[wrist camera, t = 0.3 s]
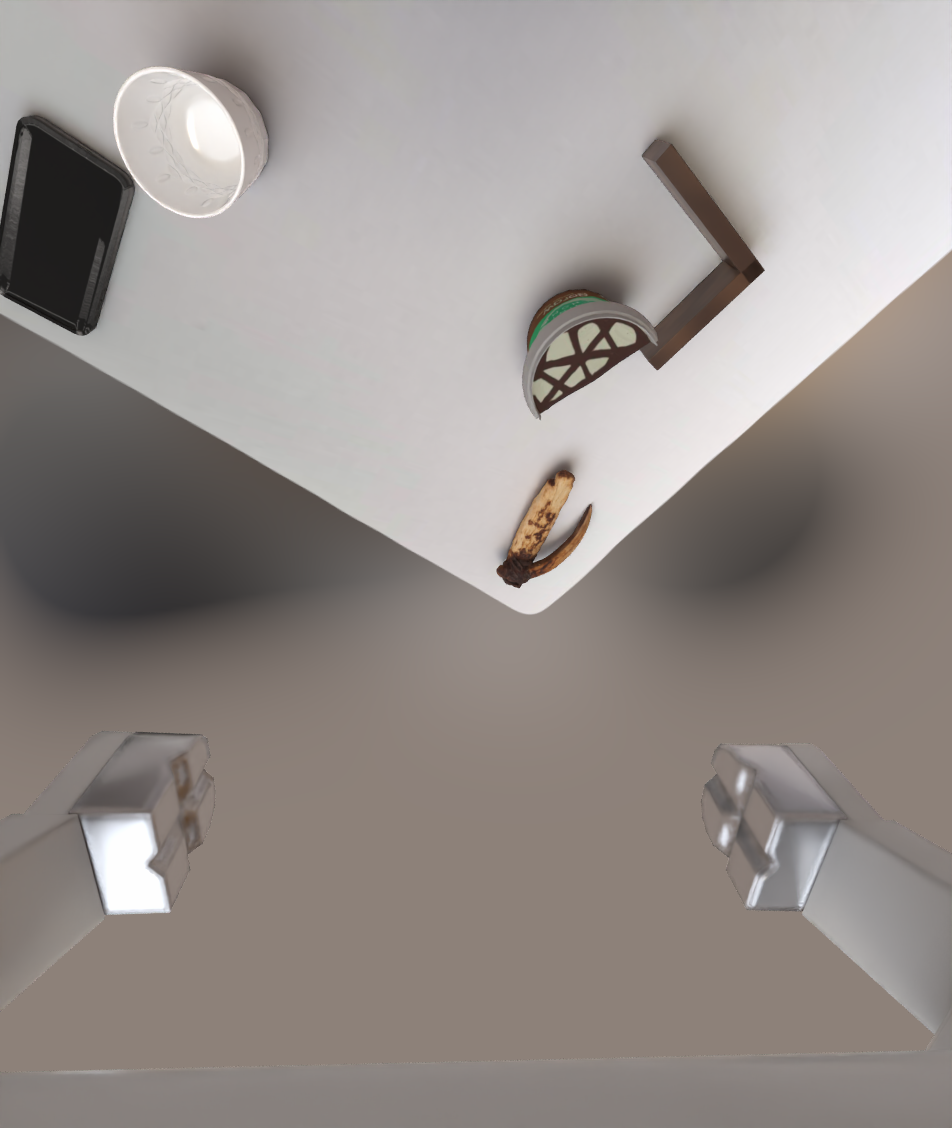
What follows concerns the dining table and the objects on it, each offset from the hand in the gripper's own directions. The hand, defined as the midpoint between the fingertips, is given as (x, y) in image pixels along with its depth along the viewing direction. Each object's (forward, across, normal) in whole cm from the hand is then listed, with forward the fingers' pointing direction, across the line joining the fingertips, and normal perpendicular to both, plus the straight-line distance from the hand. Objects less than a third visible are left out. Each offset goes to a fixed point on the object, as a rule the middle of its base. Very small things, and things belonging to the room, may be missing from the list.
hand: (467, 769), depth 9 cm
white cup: (+47, +18, -19) cm, 54 cm away
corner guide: (+50, -18, -14) cm, 55 cm away
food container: (+52, -10, -8) cm, 53 cm away
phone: (+50, +33, -12) cm, 61 cm away
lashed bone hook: (+60, -13, +15) cm, 63 cm away
